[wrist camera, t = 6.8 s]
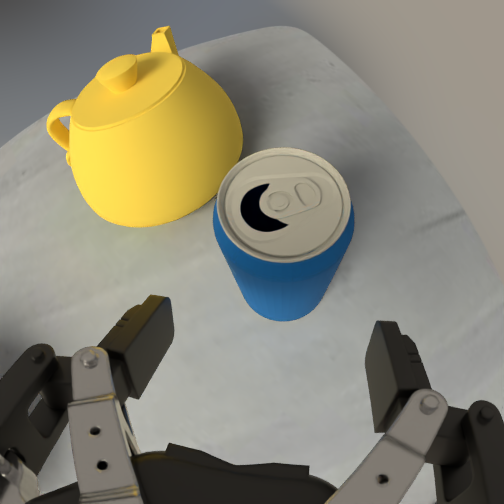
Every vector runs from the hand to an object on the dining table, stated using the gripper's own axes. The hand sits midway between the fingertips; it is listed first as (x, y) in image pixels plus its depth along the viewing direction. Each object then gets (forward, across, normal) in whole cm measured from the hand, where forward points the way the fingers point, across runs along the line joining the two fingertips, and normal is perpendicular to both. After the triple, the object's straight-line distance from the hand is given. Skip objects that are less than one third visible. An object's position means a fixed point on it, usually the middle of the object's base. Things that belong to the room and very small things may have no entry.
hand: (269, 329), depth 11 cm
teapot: (+20, +14, -4) cm, 25 cm away
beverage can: (+12, 0, +4) cm, 13 cm away
